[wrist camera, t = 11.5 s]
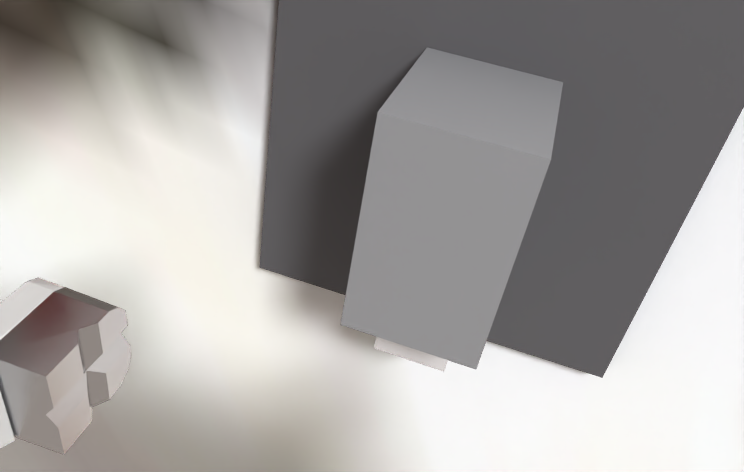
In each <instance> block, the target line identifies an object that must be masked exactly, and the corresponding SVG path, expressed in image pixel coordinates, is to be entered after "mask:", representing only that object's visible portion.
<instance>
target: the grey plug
mask: <svg viewBox="0 0 744 472" xmlns="http://www.w3.org/2000/svg"><path fill="white" fill-rule="evenodd" d="M562 87H563V82H560V81H556V80H552V79H548V78H544V77H540V76H537V75H533V74H529V73H525V72H521V71H517V70H513V69H509V68H505V67H501V66H498V65H494V64H490V63H486V62H482V61H478V60H474V59H470V58H466V57H462V56H459V55H455V54H451V53H447V52H443V51H439V50H435V49H431V48H426V49H425V51H424V52H423V53H422V55H421V56H420V57H419V58H418V60H417V61H416V62H415V64H414V65H413V66H412V68H411V69H410V70H409V72H408V73H407V74H406V76H405V77H404V78H403V79H402V81H401V82H400V83H399V85H398V86H397V87H396V89H395V90H394V91H393V93H392V94H391V95H390V96H389V98H388V99H387V100H386V102H385V103H384V104H383V106H382V107H381V108H380V110H379V111H378V113H377V119H376V124H375V130H374V136H373V142H372V147H371V153H370V159H369V164H368V170H367V176H366V182H365V187H364V193H363V199H362V205H361V210H360V216H359V222H358V227H357V233H356V239H355V245H354V250H353V256H352V262H351V268H350V273H349V279H348V285H347V290H346V296H345V302H344V308H343V313H342V319H341V325H343V326H346V327H349V328H352V329H355V330H358V331H361V332H364V333H367V334H370V335H373V336H376V340H375V345H374V348H375V349H378V350H381V351H384V352H387V353H390V354H393V355H396V356H399V357H402V358H405V359H408V360H411V361H414V362H417V363H420V364H423V365H426V366H429V367H432V368H435V369H438V370H441V371H444V370H445V367H446V364H447V361H448V360H449V361H452V362H455V363H458V364H461V365H464V366H467V367H470V368H473V369H476V368H477V365H478V363H479V360H480V357H481V354H482V351H483V349H484V346H485V343H486V340H487V337H488V335H489V332H490V329H491V326H492V323H493V321H494V318H495V315H496V312H497V309H498V307H499V304H500V301H501V298H502V295H503V293H504V290H505V287H506V284H507V281H508V279H509V276H510V273H511V270H512V267H513V265H514V262H515V259H516V256H517V253H518V251H519V248H520V245H521V242H522V239H523V237H524V234H525V231H526V228H527V225H528V223H529V220H530V217H531V214H532V211H533V209H534V206H535V203H536V200H537V197H538V195H539V192H540V189H541V186H542V183H543V181H544V178H545V175H546V172H547V169H548V167H549V164H550V161H551V156H552V150H553V144H554V137H555V131H556V125H557V118H558V112H559V106H560V100H561V93H562Z"/></svg>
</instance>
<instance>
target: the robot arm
mask: <svg viewBox="0 0 744 472" xmlns="http://www.w3.org/2000/svg"><path fill="white" fill-rule="evenodd" d="M127 326H128V322H127V316H126V310H124V309H121V308H119V307H116V306H113V305H111V304H108V303H105V302H103V301H100V300H98V299H95V298H92V297H90V296H87V295H84V294H82V293H79V292H76V291H74V290H71V289H68V288H66V287H63V286H60V285H57V284H55V283H52V282H49V281H46V280H43V279H41V278H35V279H32V280H29V281H27V282H25V283H24V284H23V285H22V286H20V287H19V288H18V289H17V290H16V291H14V292H13V293H12V294H11V295H10V296H8V297H7V298H6V299H5V300H4V301H2V302H1V303H0V448H2V447H4V446H6V445H8V444H10V443H11V442H13V441H15V437H16V438H19V439H22V440H25V441H27V442H30V443H33V444H36V445H39V446H41V447H44V448H47V449H50V450H53V451H55V452H58V453H61V454H65V453H66V452H67V451H68V450H69V448H70V447H71V446H72V445H73V444H74V442H75V441H76V440H77V439H78V438H79V436H80V435H81V434H82V433H83V432H84V430H85V429H86V428H87V427H88V426H89V424H90V423H91V422H92V407H94V406H96V405H98V404H101V403H103V402H105V401H108V400H110V399H111V397H112V396H113V395H114V394H115V392H116V391H117V390H118V389H119V387H120V386H121V384H122V382H123V380H124V378H125V376H126V374H127V372H128V369H129V365H130V359H131V348H130V344H129V343H128V341H127V340H126V339H125V337H124V336H123V334H122V331H123V330H124V329H125V328H126V327H127Z"/></svg>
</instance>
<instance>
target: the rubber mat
mask: <svg viewBox="0 0 744 472" xmlns="http://www.w3.org/2000/svg"><path fill="white" fill-rule="evenodd" d="M426 48H431V49H435V50H439V51H443V52H447V53H451V54H455V55H459V56H462V57H466V58H470V59H474V60H478V61H482V62H486V63H490V64H494V65H498V66H501V67H505V68H509V69H513V70H517V71H521V72H525V73H529V74H533V75H537V76H540V77H544V78H548V79H552V80H556V81H560V82H563V87H562V93H561V100H560V106H559V112H558V118H557V125H556V131H555V137H554V144H553V150H552V156H551V161H550V164H549V167H548V169H547V172H546V175H545V178H544V181H543V183H542V186H541V189H540V192H539V195H538V197H537V200H536V203H535V206H534V209H533V211H532V214H531V217H530V220H529V223H528V225H527V228H526V231H525V234H524V237H523V239H522V242H521V245H520V248H519V251H518V253H517V256H516V259H515V262H514V265H513V267H512V270H511V273H510V276H509V279H508V281H507V284H506V287H505V290H504V293H503V295H502V298H501V301H500V304H499V307H498V309H497V312H496V315H495V318H494V321H493V323H492V326H491V329H490V332H489V335H488V337H487V341H490V342H493V343H496V344H499V345H502V346H505V347H509V348H512V349H515V350H518V351H521V352H524V353H527V354H530V355H533V356H536V357H540V358H543V359H546V360H549V361H552V362H555V363H558V364H561V365H564V366H568V367H571V368H574V369H577V370H580V371H583V372H586V373H589V374H592V375H595V376H599V377H603V375H604V373H605V371H606V369H607V368H608V366H609V364H610V362H611V360H612V358H613V356H614V354H615V352H616V350H617V348H618V347H619V345H620V343H621V341H622V339H623V337H624V335H625V333H626V331H627V329H628V327H629V325H630V324H631V322H632V320H633V318H634V316H635V314H636V312H637V310H638V308H639V306H640V304H641V302H642V301H643V299H644V297H645V295H646V293H647V291H648V289H649V287H650V285H651V283H652V281H653V280H654V278H655V276H656V274H657V272H658V270H659V268H660V266H661V264H662V262H663V260H664V258H665V257H666V255H667V253H668V251H669V249H670V247H671V245H672V243H673V241H674V239H675V237H676V236H677V234H678V232H679V230H680V228H681V226H682V224H683V222H684V220H685V218H686V216H687V214H688V213H689V211H690V209H691V207H692V205H693V203H694V201H695V199H696V197H697V195H698V193H699V191H700V190H701V188H702V186H703V184H704V182H705V180H706V178H707V176H708V174H709V172H710V170H711V169H712V167H713V165H714V163H715V161H716V159H717V157H718V155H719V153H720V151H721V149H722V147H723V146H724V144H725V142H726V140H727V138H728V136H729V134H730V132H731V130H732V128H733V126H734V125H735V123H736V121H737V119H738V117H739V115H740V113H741V111H742V109H743V107H744V0H279V7H278V21H277V34H276V48H275V62H274V76H273V90H272V104H271V117H270V131H269V145H268V159H267V173H266V187H265V200H264V214H263V228H262V242H261V256H260V268H263V269H266V270H269V271H273V272H276V273H279V274H282V275H285V276H288V277H291V278H294V279H297V280H300V281H304V282H307V283H310V284H313V285H316V286H319V287H322V288H325V289H328V290H332V291H335V292H338V293H341V294H344V295H346V290H347V285H348V279H349V273H350V268H351V262H352V256H353V250H354V245H355V239H356V233H357V227H358V222H359V216H360V210H361V205H362V199H363V193H364V187H365V182H366V176H367V170H368V164H369V159H370V153H371V147H372V142H373V136H374V130H375V124H376V119H377V113H378V111H379V110H380V108H381V107H382V106H383V104H384V103H385V102H386V100H387V99H388V98H389V96H390V95H391V94H392V93H393V91H394V90H395V89H396V87H397V86H398V85H399V83H400V82H401V81H402V79H403V78H404V77H405V76H406V74H407V73H408V72H409V70H410V69H411V68H412V66H413V65H414V64H415V62H416V61H417V60H418V58H419V57H420V56H421V55H422V53H423V52H424V51H425V49H426Z"/></svg>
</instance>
